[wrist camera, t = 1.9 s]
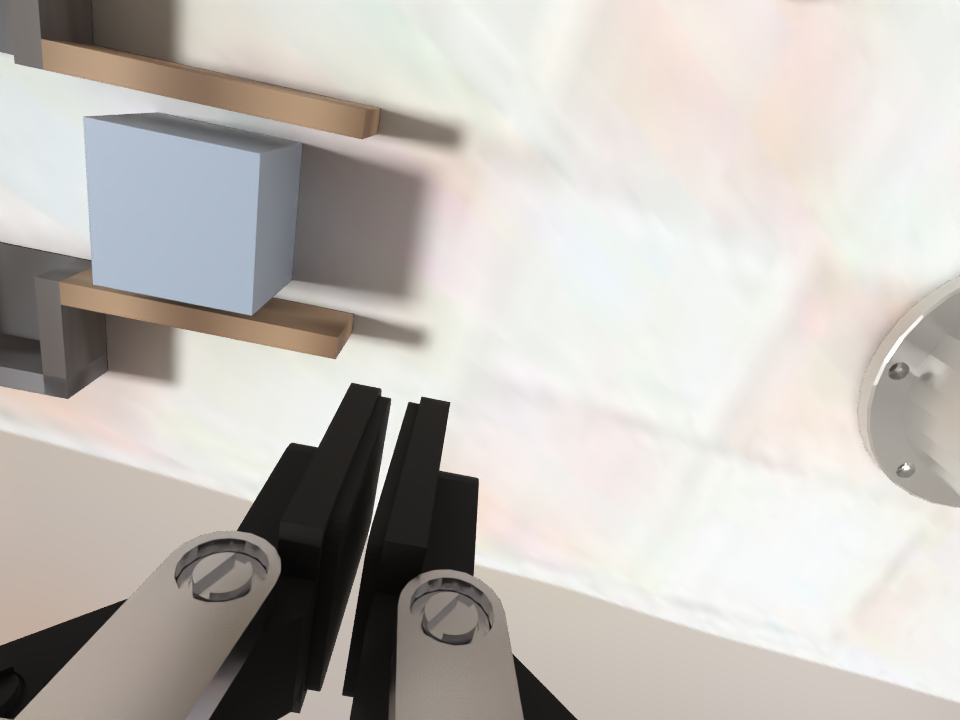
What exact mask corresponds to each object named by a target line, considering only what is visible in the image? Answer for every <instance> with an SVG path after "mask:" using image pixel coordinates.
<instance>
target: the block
mask: <svg viewBox="0 0 960 720" xmlns="http://www.w3.org/2000/svg"><path fill="white" fill-rule="evenodd" d="M83 121H84V138H85V155H86V172H87V190H88V207H89V224H90V241H91V258H92V276H93V285H98V286H104V287H109V288H114V289H119V290H124V291H129V292H134V293H139V294H144V295H149V296H154V297H160V298H165V299H170V300H175V301H180V302H185V303H190V304H195V305H200V306H205V307H210V308H216V309H221V310H226V311H231V312H236V313H241V314H246V315H251V316H252V315H253V314H254V313H255V312H256V311H258V310H259V309H260V308H261V307H262V306H263V305H264V304H265V303H267V302H268V301H269V300H270V299H271V298H272V297H273V296H274V295H276V294H277V293H278V292H279V291H280V290H281V289H282V288H283V287H285V286H286V285H287V284H288V283H289V282H290V281H291V280H292V272H293V260H294V247H295V234H296V221H297V209H298V196H299V183H300V170H301V157H302V145H303V143H300V142H295V141H290V140H286V139H281V138H276V137H271V136H267V135H262V134H257V133H252V132H248V131H243V130H238V129H233V128H229V127H224V126H219V125H215V124H210V123H205V122H200V121H196V120H191V119H186V118H181V117H177V116H172V115H167V114H162V113H158V112H157V113H140V114H122V115H105V116H87V117H83Z"/></svg>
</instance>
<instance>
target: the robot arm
mask: <svg viewBox="0 0 960 720" xmlns="http://www.w3.org/2000/svg"><path fill="white" fill-rule="evenodd" d="M390 405H391V398H386V397H381V389H380V388H375V387H370V386H365V385H360V384H355V383H351V385H350V387H349V388H348V390H347V392H346V394H345V396H344V398H343V400H342V402H341V404H340V406H339V408H338V410H337V412H336V414H335V416H334V418H333V420H332V422H331V423H330V425H329V427H328V429H327V431H326V433H325V435H324V437H323V439H322V441H321V443H320V445H319V447H312V446H307V445H302V444H297V443H291V444H289V446H288V447H287V448H286V450H285V452H284V453H283V455H282V457H281V458H280V460H279V462H278V463H277V465H276V467H275V468H274V470H273V472H272V473H271V475H270V477H269V478H268V480H267V482H266V483H265V485H264V487H263V488H262V490H261V492H260V493H259V495H258V496H257V498H256V500H255V501H254V503H253V505H252V507H251V508H250V510H249V511H248V513H247V515H246V516H245V518H244V520H243V522H242V523H241V525H240V526H239V528H238V530H237V531H218V532H213V533H209V534H205V535H201V536H198V537H196V538H194V539H192V540H190V541H188V542H186V543H184V544H182V545H181V546H180V547H179V548H177V549H176V550H175V551H174V552H173V553H171V554H170V555H169V556H168V558H166V560H165V561H164V562H163V563H162V564H161V565H160V566H159V567H158V568H157V569H156V570H155V571H154V572H153V573H152V574H151V575H150V576H149V577H148V578H147V579H146V581H145V582H144V583H143V584H142V585H141V586H140V587H139V588H138V589H137V590H136V591H135V592H134V593H133V594H132V595H131V596H130V597H129V598H128V599H126V600H123V601H120V602H117V603H115V604H112V605H109V606H107V607H104V608H101V609H98V610H96V611H93V612H90V613H88V614H85V615H82V616H80V617H77V618H74V619H72V620H69V621H66V622H63V623H61V624H58V625H55V626H53V627H50V628H47V629H45V630H42V631H39V632H37V633H34V634H31V635H28V636H25V637H23V638H20V639H17V640H15V641H12V642H9V643H7V644H4V645H1V646H0V720H278V719H279V718H281V717H283V716H284V715H286V714H288V713H290V712H295V713H300V711H301V707H302V705H303V702H304V699H305V695H306V692H307V689H308V690H314V691H320V690H321V688H322V685H323V682H324V678H325V675H326V672H327V668H328V665H329V662H330V658H331V655H332V652H333V648H334V645H335V642H336V638H337V635H338V632H339V629H340V625H341V622H342V618H343V615H344V612H345V609H346V605H347V602H348V598H349V595H350V592H351V588H352V585H353V582H354V579H355V575H356V572H357V568H358V565H359V562H360V559H361V555H362V552H363V549H364V545H365V542H366V538H367V536H368V532H369V528H370V524H371V519H372V513H373V507H374V501H375V495H376V489H377V483H378V477H379V471H380V465H381V459H382V453H383V447H384V441H385V435H386V429H387V423H388V417H389V411H390ZM449 407H450V402H446V401H441V400H436V399H431V398H426V397H421V401H420V404H417V403H412V402H409V403H408V406H407V409H406V412H405V416H404V419H403V423H402V426H401V429H400V433H399V436H398V439H397V443H396V446H395V449H394V453H393V456H392V459H391V463H390V466H389V470H388V473H387V476H386V480H385V483H384V486H383V490H382V493H381V496H380V500H379V503H378V506H377V510H376V513H375V517H374V520H373V523H372V527H371V531H370V535H369V539H368V544H367V549H366V554H365V560H364V566H363V572H362V578H361V584H360V590H359V596H358V602H357V609H356V614H355V620H354V626H353V632H352V639H351V644H350V650H349V657H348V662H347V669H346V675H345V680H344V687H343V693H342V695H343V696H349V697H354V698H353V704H352V710H351V715H350V720H577V719H576V718H575V717H574V716H573V715H572V714H571V713H570V712H569V711H568V710H567V709H566V708H565V707H564V706H563V705H562V704H561V702H559V701H558V699H557V698H556V697H555V696H554V695H552V693H551V692H550V691H549V690H548V689H547V688H546V687H545V686H544V685H543V684H542V683H541V682H540V681H539V680H538V679H537V678H536V677H535V676H534V675H533V674H532V673H531V672H530V671H529V670H528V669H527V668H526V667H525V666H524V665H523V664H522V663H521V662H520V661H519V660H518V659H517V658H516V657H515V656H514V655H513V654H512V649H511V644H510V638H509V632H508V626H507V621H506V615H505V611H504V609H503V606H502V603H501V600H500V599H499V598H498V596H497V595H496V594H495V592H494V591H493V590H492V589H491V588H490V587H489V586H488V585H486V584H485V583H484V582H482V581H481V580H480V579H478V578H476V577H474V576H473V574H474V559H475V541H476V523H477V505H478V487H479V479H478V478H475V477H470V476H464V475H459V474H454V473H449V472H443V471H439V468H440V462H441V456H442V450H443V443H444V437H445V431H446V425H447V419H448V413H449ZM857 414H858V424H859V432H860V435H861V438H862V441H863V443H864V446H865V449H866V451H867V452H868V454H869V455H870V457H871V458H872V460H873V461H874V463H875V464H876V465H877V467H878V468H879V469H880V470H881V471H882V472H883V473H884V474H885V475H886V476H887V477H888V478H889V479H890V480H891V481H892V482H893V483H895V484H896V485H898V486H899V487H901V488H902V489H903V490H905V491H906V492H908V493H909V494H911V495H913V496H916V497H918V498H921V499H923V500H926V501H928V502H931V503H935V504H940V505H945V506H950V507H960V275H959V276H957V277H955V278H953V279H951V280H949V281H947V282H946V283H944V284H943V285H941V286H940V287H939V288H937V289H936V290H934V291H933V292H931V293H930V294H928V295H927V296H925V297H924V298H922V299H921V300H920V301H919V302H918V303H917V304H916V305H915V306H913V307H912V308H911V309H910V310H909V311H908V312H907V313H906V314H905V315H904V316H903V317H902V318H900V319H899V320H898V322H897V323H896V324H895V325H894V327H893V328H892V329H891V330H890V332H889V333H888V334H887V335H886V337H885V338H884V339H883V340H882V342H881V343H880V345H879V347H878V349H877V350H876V352H875V354H874V356H873V357H872V359H871V361H870V363H869V364H868V367H867V370H866V373H865V376H864V378H863V381H862V384H861V387H860V393H859V401H858V408H857Z"/></svg>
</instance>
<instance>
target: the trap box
mask: <svg viewBox="0 0 960 720" xmlns="http://www.w3.org/2000/svg"><path fill="white" fill-rule="evenodd" d="M0 52H3V53H8V54H12V55H14V60H15V64H20V65H24V66H29V67H34V68H38V69H43V70H47V71H52V72H56V73H61V74H66V75H70V76H75V77H79V78H84V79H89V80H93V81H98V82H102V83H107V84H111V85H116V86H121V87H125V88H130V89H134V90H139V91H143V92H148V93H153V94H157V95H162V96H166V97H171V98H176V99H180V100H185V101H189V102H194V103H198V104H203V105H208V106H212V107H217V108H221V109H226V110H230V111H235V112H240V113H244V114H249V115H253V116H258V117H263V118H267V119H272V120H276V121H281V122H285V123H290V124H295V125H299V126H304V127H308V128H313V129H318V130H322V131H327V132H331V133H336V134H340V135H345V136H350V137H354V138H359V139H364V138H367V137H370V136H373V135H376V134H377V132H378V124H379V117H380V109H381V108H376V107H372V106H367V105H363V104H358V103H353V102H349V101H344V100H340V99H335V98H331V97H326V96H322V95H317V94H313V93H308V92H304V91H299V90H295V89H290V88H286V87H281V86H277V85H272V84H268V83H263V82H259V81H254V80H250V79H245V78H241V77H236V76H231V75H227V74H222V73H218V72H213V71H209V70H204V69H200V68H195V67H191V66H186V65H182V64H177V63H173V62H168V61H164V60H159V59H155V58H150V57H146V56H141V55H137V54H132V53H128V52H123V51H119V50H114V49H110V48H105V47H100V46H96V45H93V30H92V7H91V0H0ZM105 313H106V314H111V315H116V316H121V317H126V318H131V319H136V320H141V321H146V322H151V323H156V324H161V325H166V326H171V327H176V328H181V329H186V330H191V331H196V332H201V333H206V334H211V335H216V336H221V337H226V338H231V339H236V340H241V341H246V342H251V343H256V344H261V345H267V346H272V347H277V348H282V349H287V350H292V351H297V352H302V353H307V354H312V355H317V356H322V357H327V358H332V359H336V358H337V356H338V354H339V353H340V351H341V350H342V348H343V346H344V345H345V343H346V342H347V340H348V338H349V337H350V335H351V332H352V325H353V317H354V314H351V313H346V312H341V311H336V310H331V309H326V308H321V307H316V306H311V305H306V304H302V303H297V302H292V301H287V300H282V299H277V298H271V299H270V300H269V301H268V302H267V303H265V304H264V305H263V306H262V307H261V308H260V309H259V310H258V311H256V312H255V313H254V314H253V315H252V316H251V315H246V314H241V313H236V312H231V311H226V310H221V309H216V308H210V307H205V306H200V305H195V304H190V303H185V302H180V301H175V300H170V299H165V298H160V297H154V296H149V295H144V294H139V293H134V292H129V291H124V290H119V289H114V288H109V287H104V286H98V285H93V276H92V261H90V260H85V259H80V258H75V257H70V256H65V255H60V254H55V253H50V252H46V251H41V250H36V249H31V248H26V247H21V246H16V245H11V244H6V243H1V242H0V386H3V387H8V388H13V389H18V390H23V391H29V392H34V393H39V394H44V395H50V396H55V397H60V398H65V399H69V398H70V397H71V396H73V395H74V394H76V393H77V392H78V391H80V390H81V389H83V388H84V387H85V386H87V385H88V384H90V383H91V382H93V381H94V380H95V379H97V378H98V377H100V376H101V375H102V374H104V373H105V372H107V371H108V370H107V348H106V325H105Z"/></svg>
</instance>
